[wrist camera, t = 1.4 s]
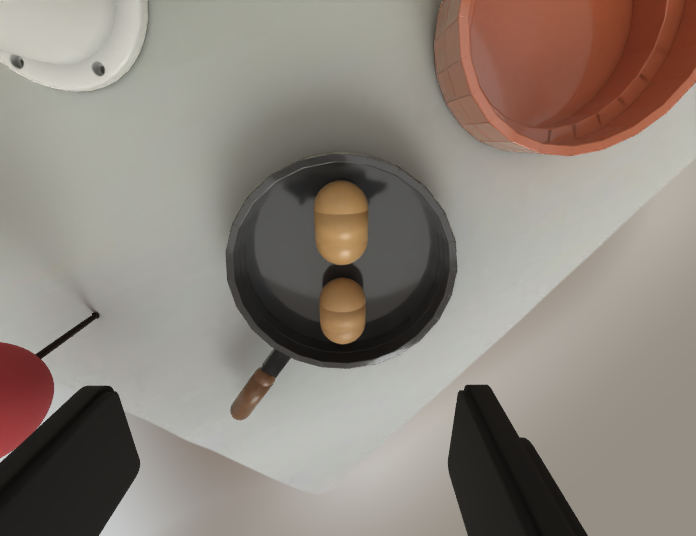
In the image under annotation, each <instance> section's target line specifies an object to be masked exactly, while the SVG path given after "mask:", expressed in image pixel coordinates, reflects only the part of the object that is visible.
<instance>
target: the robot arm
mask: <svg viewBox="0 0 696 536" xmlns="http://www.w3.org/2000/svg"><path fill="white" fill-rule="evenodd" d="M147 24H148V0H0V62H1V63H2V64H4V65H5V66H7V67H8V68H10V69H11V70H13V71H14V72H16V73H17V74H19V75H20V76H22V77H25V78H27V79H29V80H31V81H33V82H35V83H37V84H40V85H44V86H47V87H51V88H54V89H59V90H66V91H72V92H78V91H92V90H96V89H100V88H104V87H106V86H108V85H110V84H112V83H114V82H116V81H118V80H119V79H120V78H121V77H122V76H123V75H124V74H125V73H126V72H127V71H129V69H130V68H131V66H132V65H133V63H134V62H135V61H136V59H137V58H138V56H139V53H140V51H141V48H142V45H143V43H144V40H145V35H146V29H147ZM104 69H105V72H104ZM139 468H140V459H139V456H138V453H137V450H136V447H135V444H134V441H133V438H132V435H131V432H130V429H129V426H128V423H127V419H126V416H125V413H124V410H123V407H122V404H121V401H120V398H119V395H118V393H117V392H115V391H114V390H113V388H112V387H110V386H85V387H83V388H81V389H80V390H78V391H77V392H76V393H75V394H74V395H73V396H72V397H71V398H70V399H69V400H68V401H67V402H66V403H64V404H63V405H62V406H61V407H60V408H59V409H58V410H57V411H56V412H55V413H54V414H53V415H51V416H50V418H48V419H47V420H46V421H45V422H44V423H43V424H42V425H41V426H40V427H39V428H38V429H36V430H35V431H34V432H33V433H32V434H31V435H30V436H29V437H28V438H27V439H25V440H24V441H23V442H22V443H21V444H20V445H19V446H18V447H17V448H16V449H15V450H14V451H12V452H11V453H10V454H9V455H8V456H7V457H6V458H5V459H4V460H3V461H2V462H1V463H0V536H99V534H100V533H101V531H102V530H103V528H104V526H105V525H106V523H107V522H108V520H109V519H110V517H111V516H112V514H113V512H114V511H115V509H116V507H117V506H118V504H119V503H120V501H121V500H122V498H123V497H124V495H125V493H126V492H127V490H128V489H129V487H130V485H131V484H132V482H133V481H134V479H135V477H136V476H137V474H138V471H139ZM448 469H449V474H450V478H451V481H452V485H453V488H454V491H455V495H456V498H457V501H458V504H459V508H460V511H461V514H462V517H463V521H464V524H465V527H466V531H467V534H468V536H588V535H587V534H586V532H585V530H584V529H583V527H582V525H581V524H580V522H579V521H578V519H577V517H576V516H575V514H574V512H573V511H572V509H571V507H570V506H569V504H568V502H567V501H566V499H565V497H564V496H563V494H562V492H561V491H560V489H559V487H558V486H557V484H556V483H555V481H554V479H553V478H552V476H551V474H550V473H549V471H548V469H547V468H546V466H545V464H544V463H543V461H542V459H541V458H540V456H539V455H538V453H537V451H536V450H535V448H534V447H533V445H532V444H531V442H530V441H529V440H527V439H526V438H519V436H518V435H517V433H516V431H515V429H514V428H513V426H512V424H511V422H510V420H509V419H508V417H507V415H506V414H505V412H504V410H503V408H502V407H501V405H500V403H499V402H498V400H497V398H496V396H495V395H494V393H493V391H492V389H491V388H490V387H489V386H488V385H466V386H465V388H464V390H462V391H459V392H458V396H457V403H456V409H455V416H454V424H453V430H452V437H451V443H450V450H449V457H448Z"/></svg>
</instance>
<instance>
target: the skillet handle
mask: <svg viewBox="0 0 696 536" xmlns="http://www.w3.org/2000/svg"><path fill="white" fill-rule="evenodd" d="M290 358H291V357H289V356H287V355H285V354H284V353H282V352H280V351H278V350H276V349H273V350H272V352H271V353H270V355H269V356H268V357H267V359H266V360H265V362H264V363H263V365H262V367H260V368H258V369H257V370H256V371H255V373H254V374H253V376H252V377H251V378H250V380H249V381H248V383H247V384H246V385H245V387H244V388H243V390H242V391H241V392H240V394H239V395H238V397H237V398H236V399H235V401H234V402H233V404H232V405H231V409H230V411H231V415H232V417H233V418H234V419H236V420H244V419H246V418H247V417H248V416H249V415H250V414H251V412H252V411H253V410H254V408H255V407H256V406H257V404H258V403H259V402H260V400H261V399H262V398H263V396H264V395H265V394H266V392H267V391H268V390H269V388H270V387H271V386H272V385H273V383H274V381H275V378H276V377H277V376H278V374H279V373H280V372H281V370H282V369H283V368H284V366H285V365H286V364H287V362H288V361H289V360H290Z"/></svg>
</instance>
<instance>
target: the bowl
mask: <svg viewBox="0 0 696 536" xmlns="http://www.w3.org/2000/svg"><path fill="white" fill-rule="evenodd" d="M434 42H435V43H434V52H435V66H436V75H437V79H438V82H439V85H440V88H441V91H442V94H443V97H444V100H445V102H446V105H447V106H448V108H449V109H450V111H451V112H452V114H453V115H454V117H455V118H456V120H457V121H458V123H459V124H460V125H461V126H462V127H463V128H464V129H465V130H466V131H468V132H469V133H470V134H471V135H473V136H474V137H475V138H476V139H477V140H479V141H480V142H482V143H485V144H487V145H490V146H492V147H495V148H497V149H500V150H503V151H514V152H526V153H538V154H550V155H563V156H573V155H578V154H584V153H589V152H594V151H600V150H603V149H606V148H608V147H610V146H612V145H615V144H617V143H619V142H621V141H624V140H626V139H628V138H630V137H633V136H635V135H637V134H638V133H639V132H641V131H642V130H644V129H645V128H646V127H648V126H649V125H651V124H652V123H653V122H655V121H656V120H657V119H659V118H660V117H662V116H663V115H664V114H666V113H667V112H668V111H669V110H670V109H671V108H672V107H673V106H674V105H675V104H676V103H677V101H678V100H679V99H680V98H681V97H682V96H683V95H684V94H685V93H686V92H687V91H688V90H689V89H690V88H691V87H692V86H693V85H694V83H695V82H696V0H442V2H441V4H440V8H439V12H438V19H437V26H436V32H435V39H434Z"/></svg>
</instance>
